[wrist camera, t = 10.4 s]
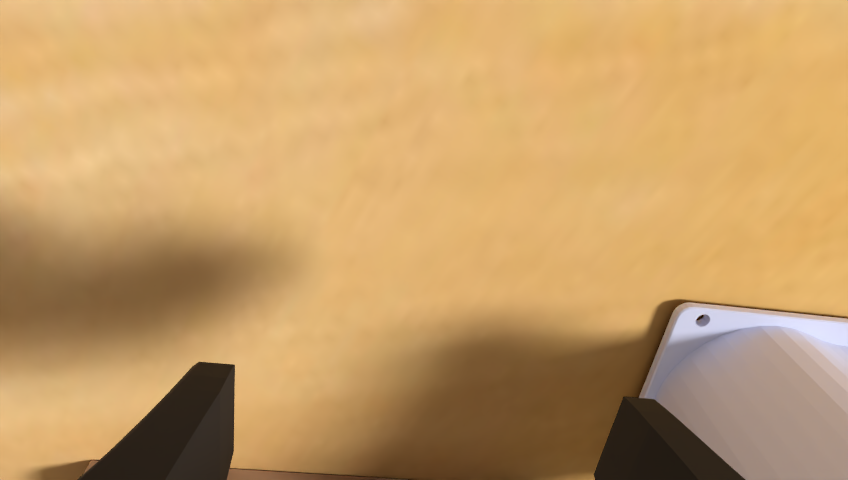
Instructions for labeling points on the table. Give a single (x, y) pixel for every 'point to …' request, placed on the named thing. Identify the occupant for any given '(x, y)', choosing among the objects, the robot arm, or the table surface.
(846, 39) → the table surface
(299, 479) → the socket board
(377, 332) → the table surface
